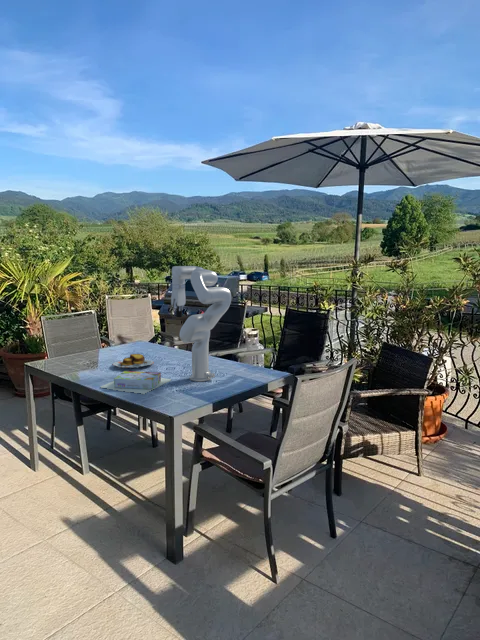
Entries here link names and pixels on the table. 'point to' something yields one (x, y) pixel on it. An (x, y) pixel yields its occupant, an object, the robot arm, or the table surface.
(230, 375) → the table surface
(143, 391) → the mat
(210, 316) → the robot arm
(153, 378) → the snack box
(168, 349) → the table surface
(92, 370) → the table surface
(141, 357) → the food on plate
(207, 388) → the table surface
